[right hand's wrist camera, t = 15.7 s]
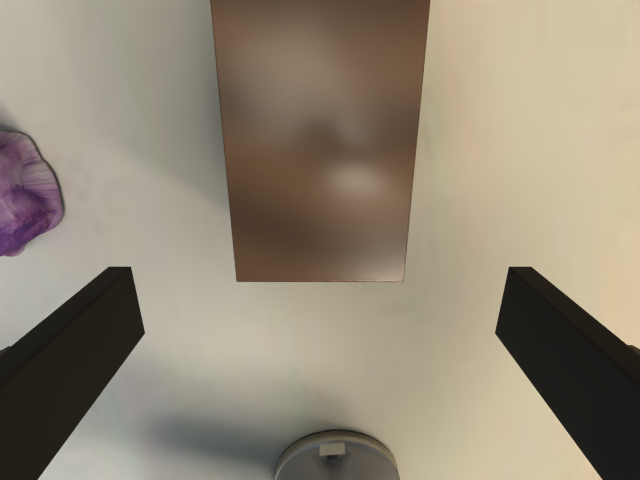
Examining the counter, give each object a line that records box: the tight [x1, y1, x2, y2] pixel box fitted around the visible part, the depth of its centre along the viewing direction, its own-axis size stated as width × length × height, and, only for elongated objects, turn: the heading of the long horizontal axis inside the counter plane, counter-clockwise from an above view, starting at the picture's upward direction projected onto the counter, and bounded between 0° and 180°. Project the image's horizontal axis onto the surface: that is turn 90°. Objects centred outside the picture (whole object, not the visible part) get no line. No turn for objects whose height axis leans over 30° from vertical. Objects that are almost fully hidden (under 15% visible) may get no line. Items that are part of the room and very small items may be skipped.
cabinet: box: [210, 0, 430, 282], centre depth 25 cm, size 21×11×10 cm, turn 0°
